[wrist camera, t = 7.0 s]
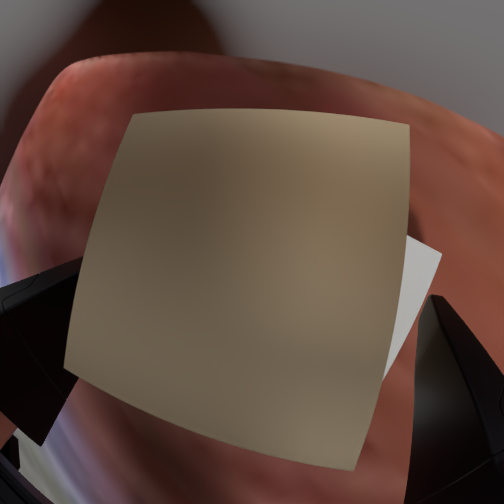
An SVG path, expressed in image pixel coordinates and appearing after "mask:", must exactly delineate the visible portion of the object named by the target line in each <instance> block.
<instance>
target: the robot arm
mask: <svg viewBox="0 0 504 504" xmlns="http://www.w3.org/2000/svg"><path fill="white" fill-rule="evenodd" d="M83 257H84V256H83ZM83 257H80V258H77V259H75V260H72V261H69V262H67V263H64V264H61V265H59V266H56V267H54V268H51V269H49V270H46V271H43V272H41V273H40V274H36V275H33V276H31V277H28V278H26V279H23V280H21V281H18V282H15V283H12V284H10V285H7V286H4V287H1V288H0V504H54V503H52V502H51V501H50V500H49V499H48V498H47V497H45V496H44V495H43V494H42V493H41V492H40V491H39V490H37V489H36V488H35V487H34V486H33V485H32V484H31V483H30V482H29V481H28V480H27V479H26V478H25V477H24V476H23V475H22V474H21V473H20V472H19V471H18V470H19V468H20V459H19V445H18V439H17V438H16V437H15V436H14V435H13V433H14V432H15V430H16V429H17V428H19V429H20V430H21V431H22V432H23V433H24V434H26V435H27V436H28V437H29V438H30V439H31V440H33V441H34V442H35V443H36V444H38V445H39V446H40V447H41V446H42V444H43V443H44V441H45V439H46V437H47V435H48V433H49V431H50V429H51V428H52V426H53V424H54V422H55V420H56V418H57V416H58V414H59V413H60V411H61V409H62V407H63V405H64V403H65V402H66V399H67V398H68V396H69V394H70V392H71V391H72V389H73V387H74V385H75V384H76V382H77V380H78V378H79V377H78V376H76V375H75V374H73V373H71V372H70V371H68V370H66V369H65V368H64V361H65V352H66V345H67V338H68V331H69V325H70V319H71V313H72V308H73V302H74V297H75V292H76V287H77V283H78V278H79V274H80V269H81V265H82V261H83ZM404 504H504V375H503V374H502V372H501V371H500V369H499V368H498V367H497V365H496V364H495V362H494V361H493V360H492V358H491V357H490V355H489V354H488V353H487V351H486V350H485V349H484V347H483V346H482V344H481V343H480V342H479V340H478V339H477V338H476V337H475V335H474V334H473V333H472V331H471V330H470V329H469V328H468V326H467V325H466V324H465V322H464V321H463V320H462V319H461V317H460V316H459V315H458V314H457V313H456V311H455V310H454V309H453V308H452V306H451V305H450V304H449V303H448V302H447V300H446V299H445V298H444V297H443V296H439V295H433V294H431V295H429V296H428V298H427V300H426V303H425V305H424V307H423V310H422V312H421V315H420V317H419V322H418V336H417V349H416V360H415V374H414V416H413V432H412V445H411V455H410V464H409V473H408V480H407V487H406V493H405V499H404Z"/></svg>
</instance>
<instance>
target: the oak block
mask: <svg viewBox="0 0 504 504" xmlns="http://www.w3.org/2000/svg"><path fill="white" fill-rule="evenodd" d="M409 192H410V131H409V125H407V124H402V123H396V122H391V121H385V120H378V119H372V118H365V117H357V116H350V115H341V114H332V113H322V112H310V111H296V110H277V109H194V110H176V111H162V112H150V113H140V114H133V116H132V118H131V120H130V123H129V125H128V127H127V130H126V132H125V134H124V137H123V139H122V141H121V144H120V146H119V149H118V151H117V154H116V156H115V159H114V162H113V164H112V167H111V170H110V172H109V175H108V178H107V181H106V184H105V187H104V189H103V192H102V195H101V198H100V201H99V205H98V208H97V211H96V214H95V217H94V221H93V224H92V227H91V231H90V235H89V238H88V242H87V245H86V249H85V253H84V257H83V261H82V265H81V269H80V274H79V278H78V283H77V287H76V292H75V297H74V302H73V308H72V313H71V319H70V325H69V331H68V338H67V345H66V352H65V361H64V368H65V369H66V370H68V371H70V372H71V373H73V374H75V375H76V376H78V377H80V378H81V379H83V380H85V381H87V382H88V383H90V384H92V385H94V386H95V387H97V388H99V389H101V390H103V391H105V392H106V393H108V394H110V395H112V396H114V397H116V398H118V399H120V400H122V401H124V402H126V403H128V404H130V405H132V406H134V407H136V408H139V409H141V410H143V411H145V412H147V413H149V414H152V415H154V416H156V417H158V418H161V419H163V420H166V421H168V422H170V423H173V424H175V425H178V426H180V427H183V428H185V429H188V430H191V431H193V432H196V433H199V434H201V435H204V436H207V437H210V438H213V439H216V440H219V441H222V442H225V443H228V444H231V445H234V446H238V447H241V448H244V449H248V450H251V451H255V452H258V453H262V454H266V455H270V456H274V457H278V458H282V459H287V460H291V461H296V462H300V463H305V464H310V465H316V466H321V467H327V468H333V469H340V470H347V471H354V468H355V465H356V463H357V460H358V457H359V455H360V452H361V449H362V446H363V443H364V440H365V437H366V434H367V431H368V428H369V425H370V422H371V419H372V416H373V412H374V409H375V405H376V402H377V398H378V395H379V391H380V388H381V384H382V380H383V376H384V372H385V368H386V364H387V359H388V355H389V350H390V346H391V341H392V336H393V331H394V326H395V321H396V315H397V309H398V303H399V297H400V290H401V283H402V276H403V268H404V260H405V250H406V240H407V228H408V213H409Z"/></svg>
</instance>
